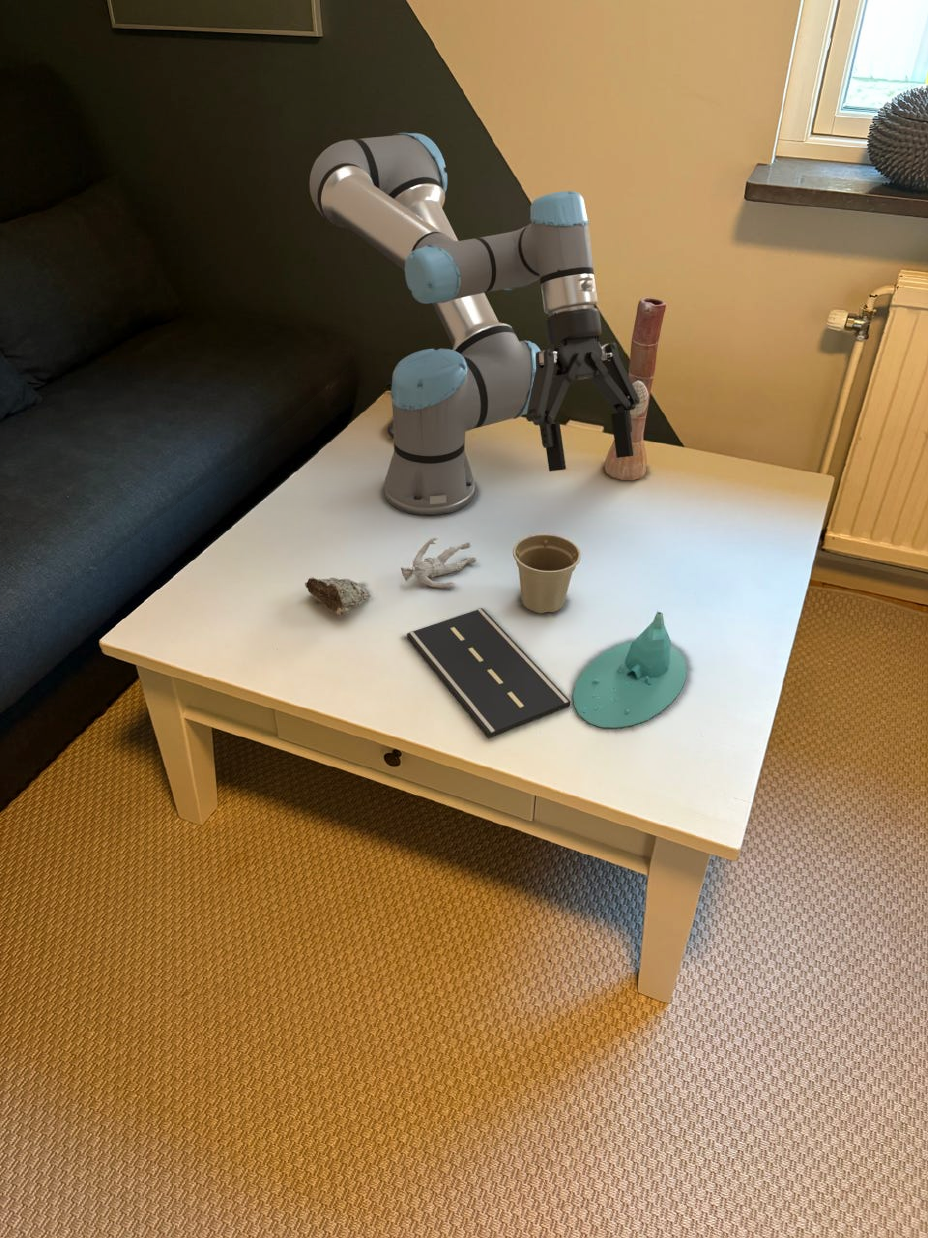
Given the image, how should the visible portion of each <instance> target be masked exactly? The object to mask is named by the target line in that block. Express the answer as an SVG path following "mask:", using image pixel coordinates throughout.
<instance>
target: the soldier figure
mask: <svg viewBox="0 0 928 1238" xmlns="http://www.w3.org/2000/svg"><path fill="white" fill-rule="evenodd" d="M435 541H438V537H432V538H430V539H429V540H428V541H427V542H425V543H424V545H423V546H422V547H421V548H420V549H419V550H418V552H417V554H416V555H415V557H414V559H413V561H412V567H402V566H401V567H400V570H401V573H402V577H403V578H404V581H405V582H406V583H408V581H409V580H410V579H411V578H412V577H413V575H414V576H415V578H417V579H418V581H419V582H421V583H423V584H425V585H426V586H429V587H431V588H437V589H441V588H453V587H455V583H454V581H449V582H440V581H434V580H432V579H431V578H435V577H439V576H441V575H447V574H450V573H453V572H455V571H459V570H460V571H461V570H462V569H463V568H464V566H466V565H467V564H475V563H476V562H477V558H476V557H474V556H473V557H471V558H465V559H463V561H456V562H452V563H448V564H445V563H446V562H447V561H448V560H449V559H450V558H451V557H452V556H454V555H455V554H456V553H457V552H458V551H460V550H466V549H469V548H471V542H470V541H467V542H465V543H462V544H460V545H456V546H450V547H449V548H448V549H445V550H443V551H442V552H441V553H440V554H439V555H437V557H435V558H434V557H433V558H432V557H426V558H424V560H423V557H424V555H426V553H427V551H428V550H429V548H430V545H436V544H437V543H436V542H435Z"/></svg>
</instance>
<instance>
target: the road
mask: <svg viewBox="0 0 928 1238" xmlns="http://www.w3.org/2000/svg"><path fill="white" fill-rule="evenodd" d="M406 638H407V640H408V641H409V642H410V643H411V645H412V646H413V647H414V649H416V650H417V652H418V653H419V655H420V656H421V657H422V658H423V660H425V662H426V663H427V664H428V666H429V667H430V668H431V669H432V671H434V673H435V674H436V675H437V676H438V678H440V680H441V681H442V683H443V684H444V685H445V687H447V689H448V690H449V691H450V693H452V695H453V696H454V698H455V699H456V700H457V701H458V703H460V705H461V706H462V707H463V708H464V710H465V711H466V712H467V714H468V715H469V716H470V717H471V719H472V720H473V721H474V722H475V723H476V724H477V726H478V727H479V728H480V729H481V731H482V732H483V733H484V734H485V736H486V737H487V738H488V739H490V738H492V737H495V736H497V735H500V734H502V733H503V734H504V733H505V732H507V731H510V730H512V729H515V728H518V727H520V726H522V725H525V724H528V723H530V722H532V721H535V720H538V719H540V718H543V717H544V716H548V715H551V714H552V713H555V712H557V711H560V710H563V709H565V708H567V707H570V706H571V700H570V699H569V698H568V697H567V696H566V695H565V693H564V692H562V691H561V689H560V688H559V687H558V686H557V685H556V684H555V683H554V682H553V681H552V680H551V679H550V678H549V677H548V676H547V674H546V673H544V672H543V670H541V668H540V667H539V666H538V665H537V664H536V663H535V662H534V661H533V660H532V659H531V657H529V656H528V654H527V653H526V652H525V651H524V650H523V649H522V648H521V647H520V646H519V645H518V644H517V643H516V642H515V641H514V640H513V639H512V638H511V637H510V636H509V635H508V633H506V631H505V630H504V629H503V628H502V627H501V626H500V625H499V624H498V623H497V622H496V621H495V619H493V617H492V616H491V615H490V614H489V613H488V612H487V611H486V610H485V609H484V608H481V607H480V608H477V609H475V610H473V611H469V612H466V613H463V614H461V615H458V616H457V615H456V616H454V617H451V618H449V619H445V620H442V621H439V622H436V623H434V624H431V625H427V626H424V627H422V628H418V629H416V630H410V631H409V632H407V633H406Z"/></svg>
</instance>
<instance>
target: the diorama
mask: <svg viewBox="0 0 928 1238" xmlns="http://www.w3.org/2000/svg"><path fill="white" fill-rule="evenodd" d="M669 635H670V634H669V632H668V630H667V628H666V626H665V619H664V613H663V612H662V611H656V613H655V616H654V617H653V620H652V622H650V624H648V626H646V628H645V629H644V630H643V631H642V632H641V633H640V634H639V635H638V636H637V637H636V638H635V639H634V640H630V641H627V642H624V643H620V644H617V645H615V646H613V647H611V648H609V649H607V650H605V651H604V652H602V653H601V654H600V655H599V656H597V657H595V658H594V660H592V661H590V663H589V664H588V665H587V666H586V667H585V669H584V670H583V671H581V673H580V676H579V678H578V679H577V681H576V682H575V686H574V690H573V694H572V697H573V704H574V705H573V706H574V708H575V710H576V712H577V713H578V715H579V717H580V718H581V719H582V720H584V721H585V722H586V723H588V724H590V725H591V726H592V725H593V726H596V727H598V728H602V729H613V730H616V729H621V728H623V729H624V728H628V727H632V726H633V727H634V726H636V725H639V724H641V723H645V722H646V721H648V720H650V719H652V718H654V717H655V716H657V715H659V714H660V713H662V712H663V711H664V710H665V709H666V708H668V706H670V705H671V704H672V703H673V702H674V701H675V699H676V698H677V697H678V695H679V694H680V692H681V691H682V688H683V686H684V683H685V681H686V678H687V669H688V666H687V662H686V659H685V657H684V655H683V654H682V652H680V651H679V649H677V648H676V647H674V646H673V645H671V644H672V640H671V638H670V636H669Z"/></svg>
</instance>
